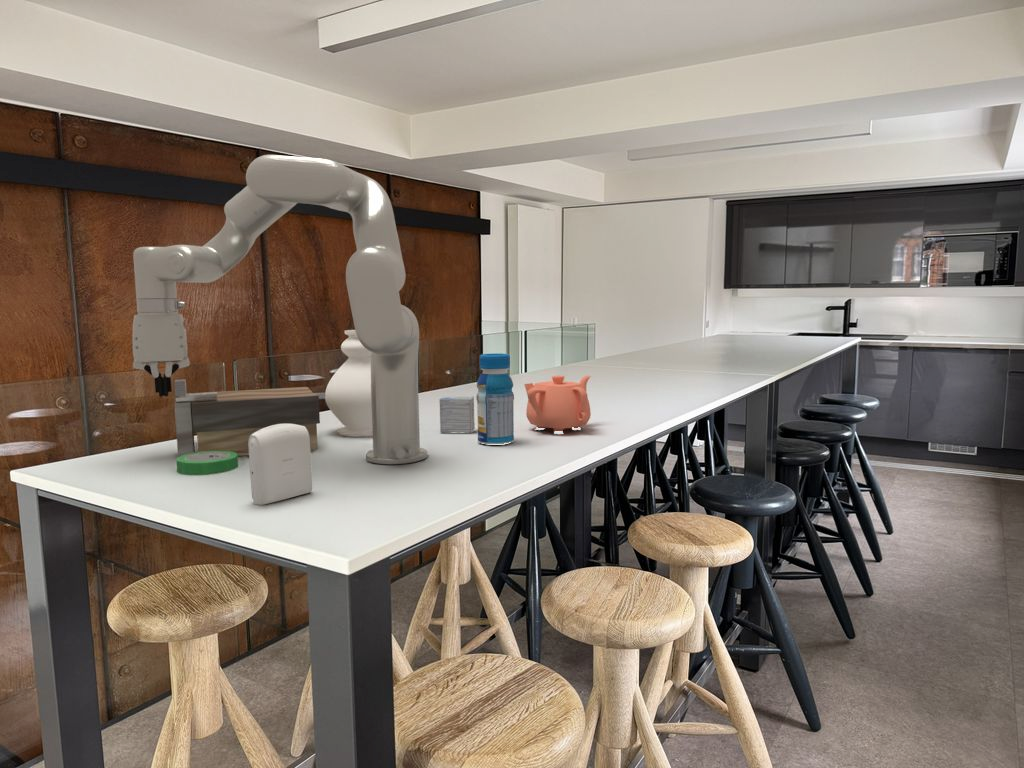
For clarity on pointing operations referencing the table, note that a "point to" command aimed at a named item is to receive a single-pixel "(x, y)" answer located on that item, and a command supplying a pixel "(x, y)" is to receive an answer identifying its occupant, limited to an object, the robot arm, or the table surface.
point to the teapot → (558, 403)
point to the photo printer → (279, 463)
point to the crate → (218, 435)
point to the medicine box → (457, 414)
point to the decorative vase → (352, 389)
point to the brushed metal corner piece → (183, 396)
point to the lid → (256, 409)
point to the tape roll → (207, 462)
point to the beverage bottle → (495, 400)
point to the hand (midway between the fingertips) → (163, 395)
